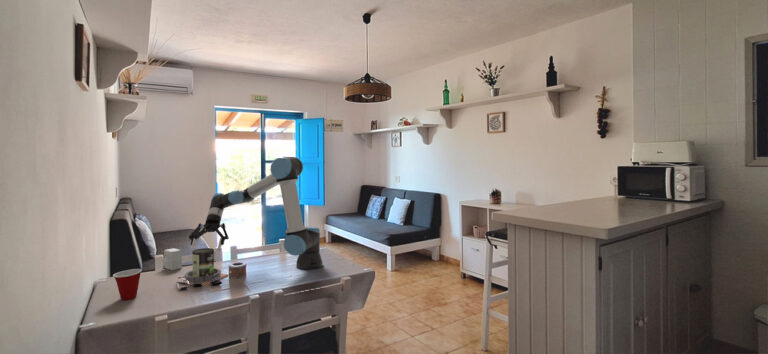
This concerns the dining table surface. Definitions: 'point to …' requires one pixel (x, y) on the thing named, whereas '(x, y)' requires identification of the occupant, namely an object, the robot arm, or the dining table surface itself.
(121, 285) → the plastic cup
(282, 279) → the dining table surface
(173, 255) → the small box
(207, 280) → the collar plate
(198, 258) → the coffee can
